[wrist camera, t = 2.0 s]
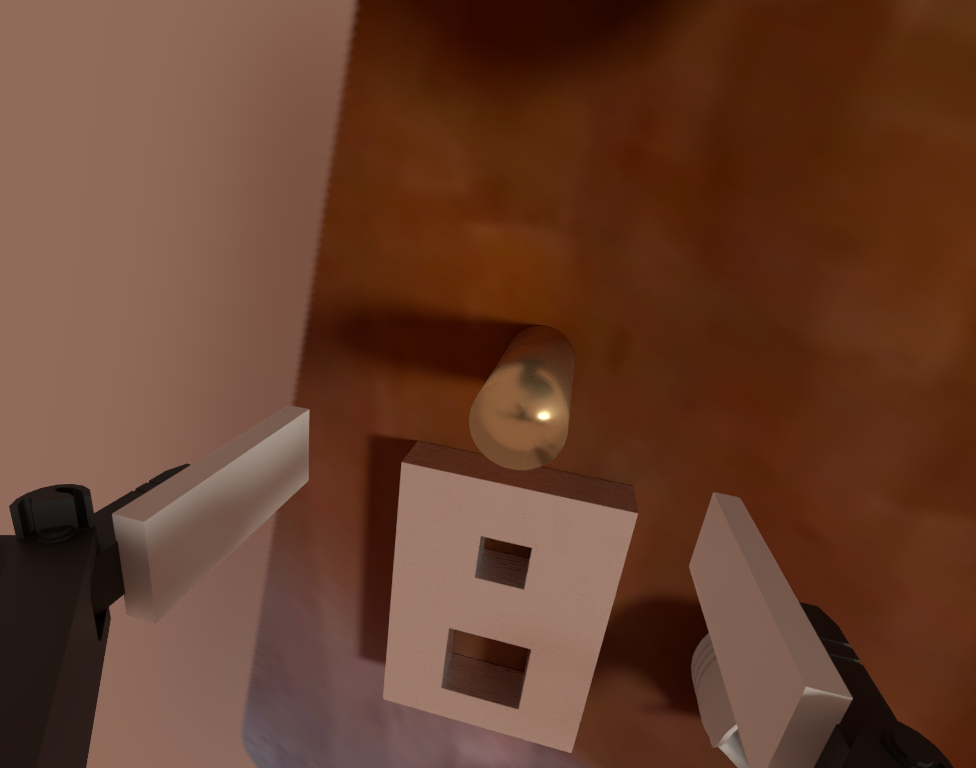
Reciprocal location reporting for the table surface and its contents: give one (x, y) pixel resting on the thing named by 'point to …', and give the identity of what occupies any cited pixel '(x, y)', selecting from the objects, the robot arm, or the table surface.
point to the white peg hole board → (502, 589)
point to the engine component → (716, 703)
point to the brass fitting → (526, 401)
